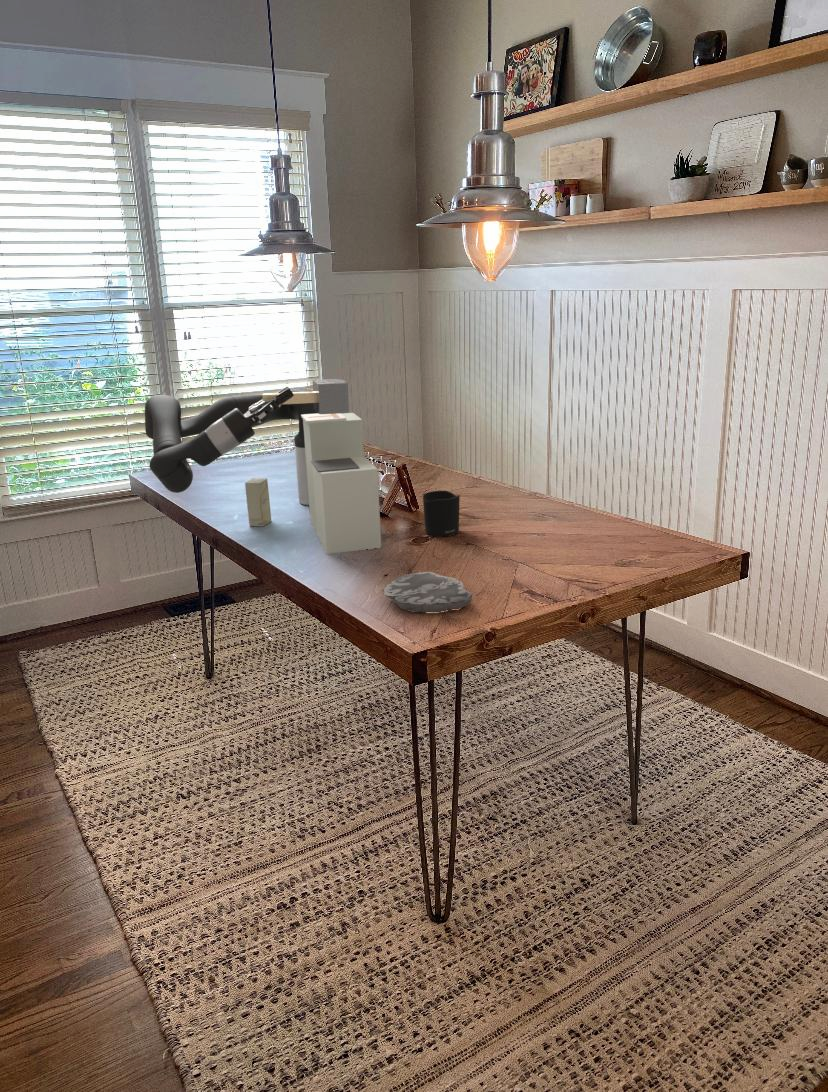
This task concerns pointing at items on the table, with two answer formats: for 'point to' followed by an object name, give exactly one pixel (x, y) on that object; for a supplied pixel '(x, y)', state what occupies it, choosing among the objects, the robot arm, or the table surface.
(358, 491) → the stepped stand
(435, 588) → the brain slice
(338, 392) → the mallet
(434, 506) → the pen holder
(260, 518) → the skincare box
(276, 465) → the table surface
